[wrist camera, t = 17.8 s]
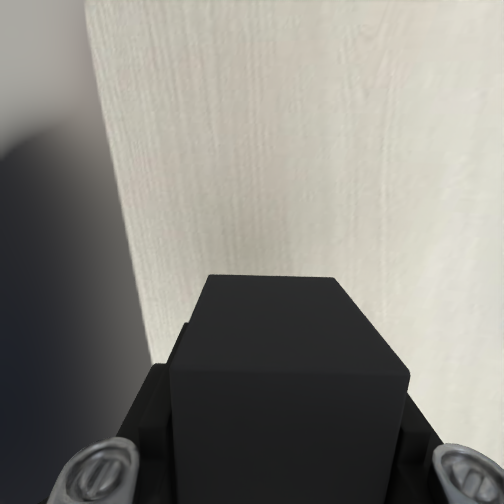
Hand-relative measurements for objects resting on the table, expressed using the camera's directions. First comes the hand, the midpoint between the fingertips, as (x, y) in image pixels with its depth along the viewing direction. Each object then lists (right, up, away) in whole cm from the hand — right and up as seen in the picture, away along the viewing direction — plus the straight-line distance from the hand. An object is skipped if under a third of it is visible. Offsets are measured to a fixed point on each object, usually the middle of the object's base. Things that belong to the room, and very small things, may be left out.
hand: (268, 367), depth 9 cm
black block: (0, 0, 0) cm, 0 cm away
